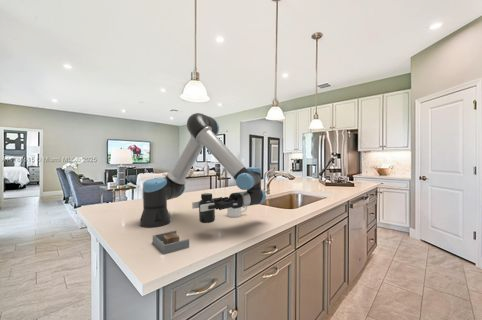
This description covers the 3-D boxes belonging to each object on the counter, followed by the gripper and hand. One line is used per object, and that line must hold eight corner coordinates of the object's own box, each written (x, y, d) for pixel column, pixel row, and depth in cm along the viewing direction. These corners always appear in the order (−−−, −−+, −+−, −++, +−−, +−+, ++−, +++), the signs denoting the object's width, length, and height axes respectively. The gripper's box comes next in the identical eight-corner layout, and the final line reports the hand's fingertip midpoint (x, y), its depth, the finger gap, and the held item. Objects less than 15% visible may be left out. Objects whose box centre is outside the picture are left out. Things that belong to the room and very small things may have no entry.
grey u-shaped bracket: (175, 237, 96) (175, 230, 96) (189, 247, 85) (189, 239, 85) (152, 242, 90) (152, 235, 90) (163, 254, 79) (163, 246, 79)
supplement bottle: (207, 218, 102) (207, 192, 102) (218, 220, 97) (217, 193, 97) (196, 221, 96) (195, 194, 96) (206, 224, 92) (205, 195, 92)
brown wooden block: (175, 241, 92) (174, 233, 92) (179, 245, 88) (179, 236, 87) (162, 244, 89) (162, 235, 89) (166, 248, 85) (166, 239, 85)
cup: (226, 214, 133) (226, 197, 133) (245, 213, 136) (245, 196, 136) (228, 218, 125) (228, 200, 125) (248, 216, 128) (248, 199, 128)
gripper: (252, 211, 100) (208, 220, 86) (228, 204, 116) (187, 211, 102) (252, 194, 100) (207, 201, 86) (227, 190, 116) (186, 195, 102)
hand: (196, 206), depth 94 cm, fingers closed on supplement bottle, 7 cm apart
